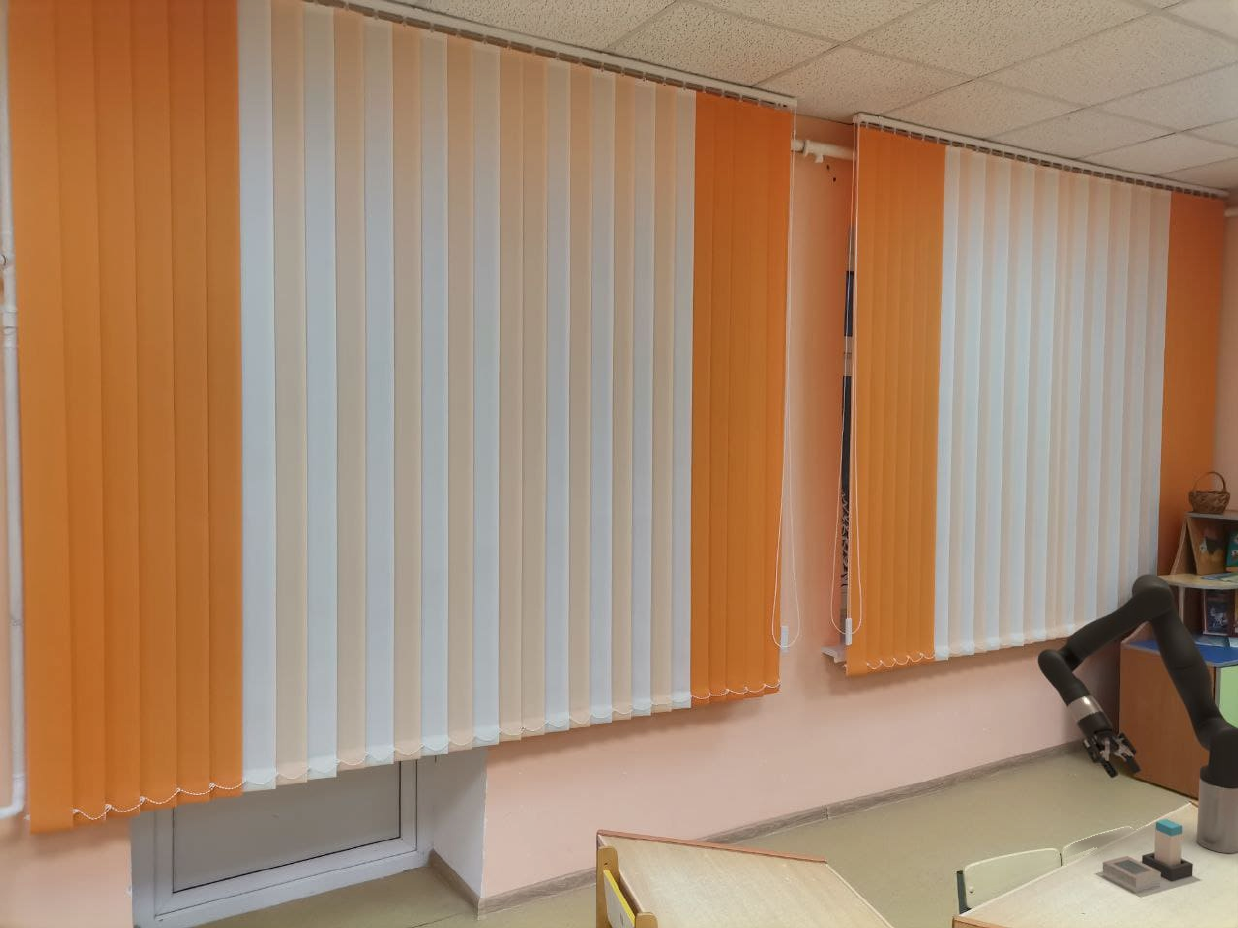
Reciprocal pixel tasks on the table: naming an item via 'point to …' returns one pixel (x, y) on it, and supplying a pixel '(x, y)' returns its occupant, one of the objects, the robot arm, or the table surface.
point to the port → (1131, 874)
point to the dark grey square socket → (1169, 868)
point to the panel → (1164, 884)
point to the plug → (1168, 842)
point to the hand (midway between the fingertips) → (1126, 774)
